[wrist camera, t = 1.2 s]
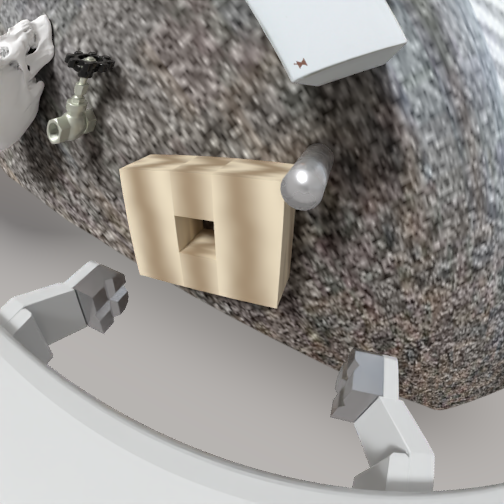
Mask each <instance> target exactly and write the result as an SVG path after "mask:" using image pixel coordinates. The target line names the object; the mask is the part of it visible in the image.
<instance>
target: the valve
mask: <svg viewBox="0 0 504 504" xmlns="http://www.w3.org/2000/svg"><path fill="white" fill-rule="evenodd" d="M81 59H84V60H81ZM109 59H110V57H109V56H105V55H104V56H97V53H95V52H89V54H84V53H83V52H81V51H76V52H75V53H74V54H67V55H66V58H65V62H66V63H68V62H69V63H68V67H71V68H73V69H74V70H75V71H77V72H78V76H79V77H81V78H80V81H78V82H76V85H75V88H74V93H75V95H74V96H72V98H70V99H68V100H67V103H66V109H67V112H66V113H65V114H63V115H62V116H61V117H58V118H55V119H51V120H49V122H48V125H47V136H48V138H49V140H50V142H51V143H52V144H57V143H61V142H64V141H72V140H76V139H78V138H79V137H80V136H82V135H83V134H86V133H89V132H92V131H94V128H95V124H96V120H97V119H96V117H95V115H94V113H93V111H92V109H87V110H86V108H87V104H88V102H87V100H85V97H84V96H83V95H84V94H86V93H87V90H88V86H89V84H88V83H87V79H88V78H91V77H92V75H93V73H94V72H96V71H99V72H106V70H107V67H108V66H109V67H108V69H113V66H114V64H115V61H113V60H109ZM96 61H98V62H96ZM77 65H80V67H78V66H77Z"/></svg>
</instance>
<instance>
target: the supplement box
mask: <svg viewBox="0 0 504 504" xmlns="http://www.w3.org/2000/svg"><path fill="white" fill-rule="evenodd" d="M246 2H247V4H248V5H249V7H250V8H251V10H252V12H253V13H254V15H255V16H256V18H257V20H258V21H259V23H260V25H261V27H262V28H263V30H264V32H265V34H266V36H267V37H268V39H269V40H270V42H271V44H272V45H273V47H274V49H275V51H276V53H277V55H278V56H279V58H280V60H281V62H282V64H283V66H284V68H285V70H286V72H287V74H288V76H289V78H290V80H291V82H292V83H298V84H305V85H312V86H321V85H324V84H327V83H329V82H332V81H335V80H338V79H341V78H344V77H347V76H350V75H353V74H356V73H359V72H362V71H366V70H369V69H372V68H375V67H378V66H381V65H384V64H386V63H387V62H388V61H389V60H390V59H391V58H392V57H393V56H394V55H395V54H396V53H397V52H398V51H399V50H400V49H401V48H402V47H403V46H404V45H405V44H406V43H407V39H406V37H405V35H404V33H403V31H402V29H401V27H400V25H399V23H398V21H397V19H396V17H395V16H394V14H393V12H392V10H391V9H390V7H389V5H388V4H387V2H386V0H246Z"/></svg>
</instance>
